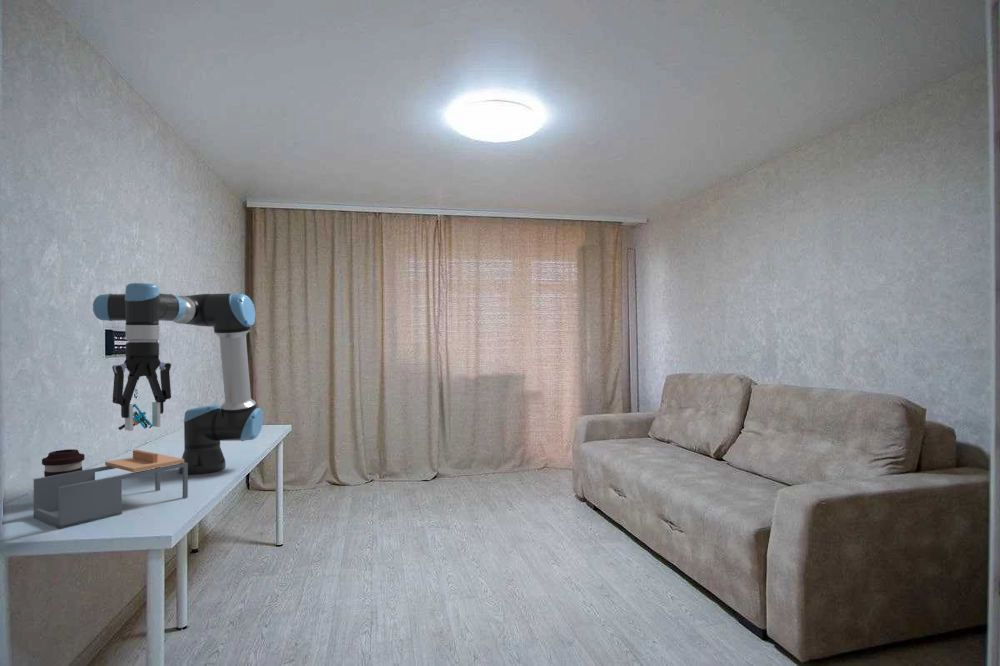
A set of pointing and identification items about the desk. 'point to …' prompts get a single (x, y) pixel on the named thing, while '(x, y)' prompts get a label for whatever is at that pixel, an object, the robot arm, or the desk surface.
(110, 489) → the housing
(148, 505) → the desk surface
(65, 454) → the coffee cup
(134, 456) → the lid
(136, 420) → the stick construction toy
